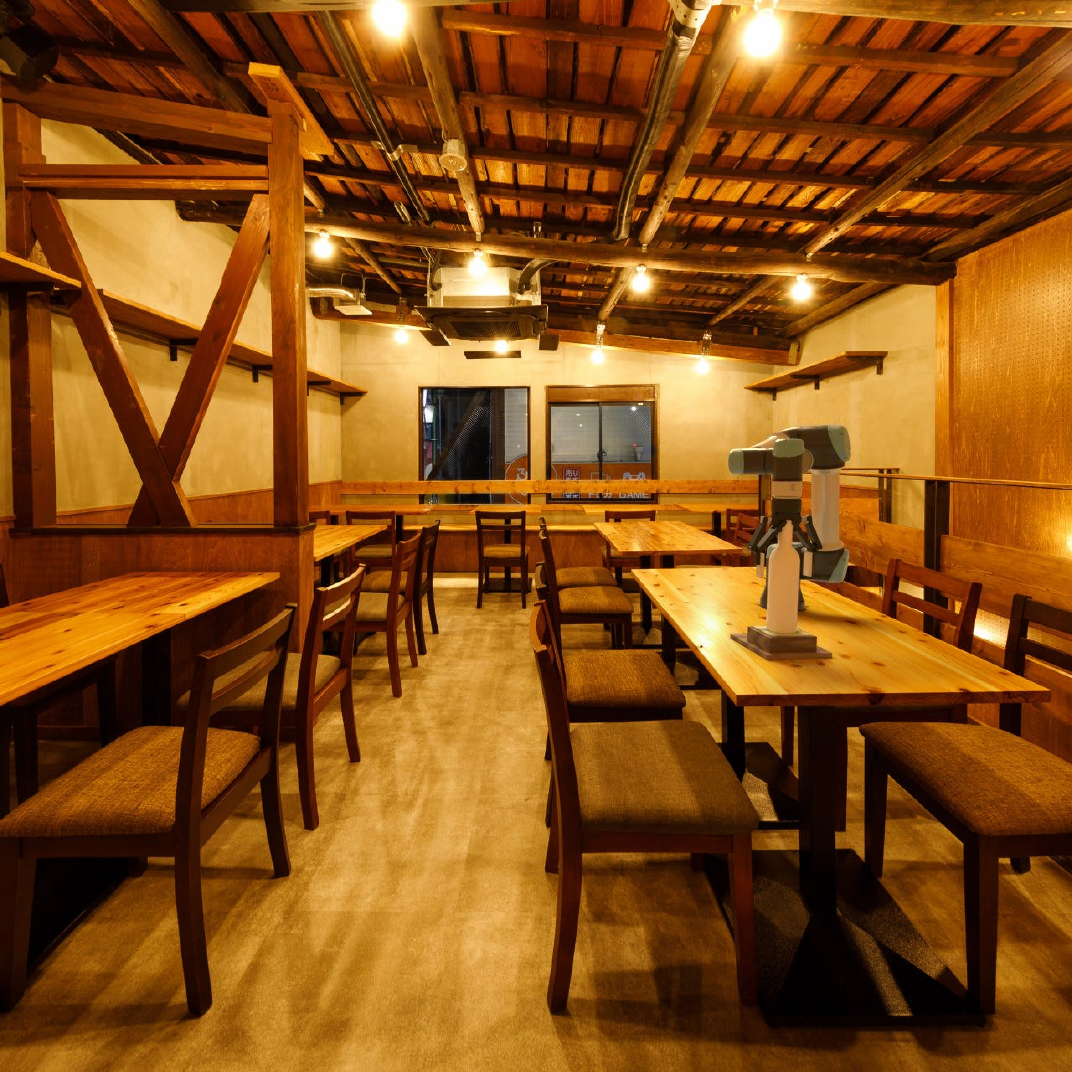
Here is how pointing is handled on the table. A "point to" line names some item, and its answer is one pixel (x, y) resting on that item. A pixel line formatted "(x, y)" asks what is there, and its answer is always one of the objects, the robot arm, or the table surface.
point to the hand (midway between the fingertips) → (783, 576)
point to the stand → (780, 644)
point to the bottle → (783, 584)
